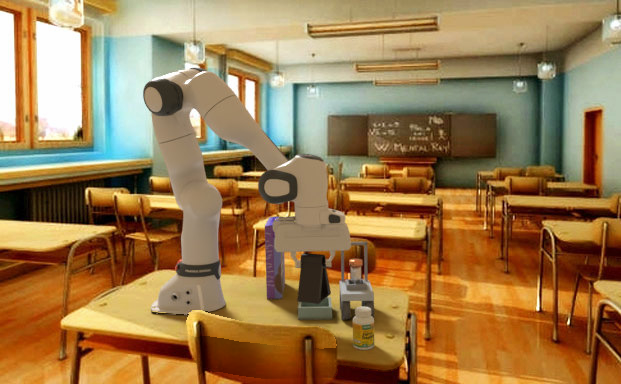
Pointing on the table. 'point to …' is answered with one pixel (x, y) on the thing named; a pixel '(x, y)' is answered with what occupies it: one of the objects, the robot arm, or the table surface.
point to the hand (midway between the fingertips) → (313, 267)
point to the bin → (315, 310)
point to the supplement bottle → (363, 329)
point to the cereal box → (273, 264)
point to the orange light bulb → (355, 270)
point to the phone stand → (313, 279)
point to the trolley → (355, 289)
